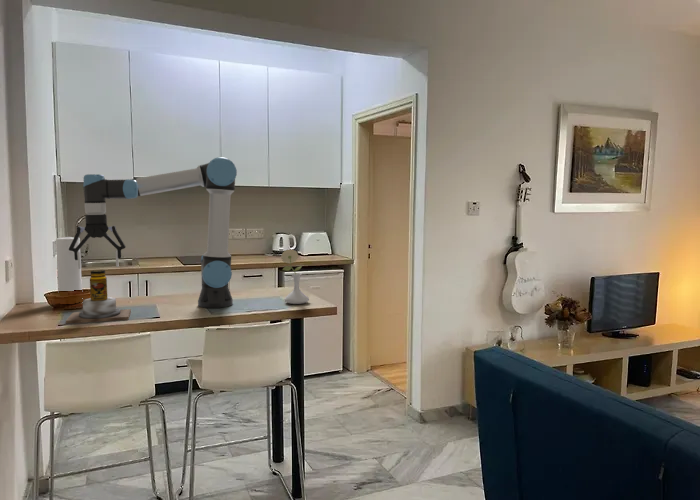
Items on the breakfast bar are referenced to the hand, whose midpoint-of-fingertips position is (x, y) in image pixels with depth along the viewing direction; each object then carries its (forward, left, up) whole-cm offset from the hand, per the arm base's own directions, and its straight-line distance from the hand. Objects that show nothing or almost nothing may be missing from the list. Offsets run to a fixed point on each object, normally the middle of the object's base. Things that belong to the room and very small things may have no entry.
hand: (98, 267), depth 209 cm
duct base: (0, 0, -20) cm, 20 cm away
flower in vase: (-81, -5, -20) cm, 83 cm away
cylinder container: (+16, -36, -20) cm, 44 cm away
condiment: (+1, 0, -13) cm, 13 cm away
